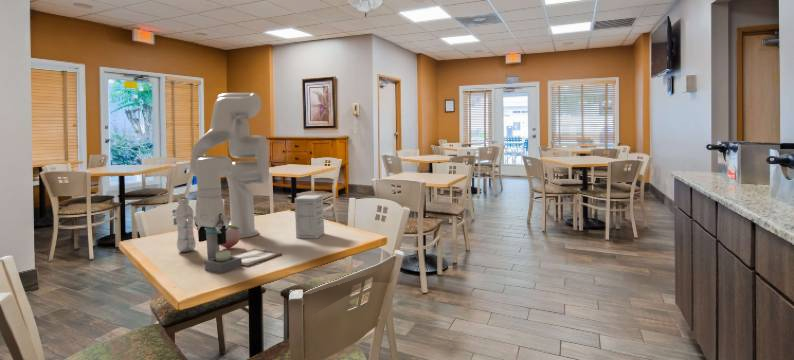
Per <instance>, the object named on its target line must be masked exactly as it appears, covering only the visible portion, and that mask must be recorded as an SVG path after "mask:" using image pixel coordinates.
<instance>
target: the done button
mask: <svg viewBox="0 0 794 360" xmlns="http://www.w3.org/2000/svg"><path fill="white" fill-rule="evenodd" d="M230 256H231V251H230V250H228V249H226V250H220V251H218V252H216V261H218V262H223V261H228V260H230Z"/></svg>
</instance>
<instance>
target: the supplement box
mask: <svg viewBox="0 0 794 360" xmlns="http://www.w3.org/2000/svg"><path fill="white" fill-rule="evenodd" d="M323 196H324V195H322V194H317V195H316V194H313V195H312V194H311V195H309V194H308V195H307V194H303V195H300V196H298V197H295V198H294V218H295V234H296V235H295V236H296V239H318V238H320V237H322V236H323V235H324V234H325V220H324V219H325V218H324V199H323V198H324V197H323Z"/></svg>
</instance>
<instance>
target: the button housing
mask: <svg viewBox="0 0 794 360" xmlns="http://www.w3.org/2000/svg"><path fill="white" fill-rule="evenodd" d="M240 268H243V266H242V260H241V258H238V257H233V255H230V260H228V261H223V262H218V261H216V258H213V259H210V260H208V259H207V260H205V261H204V269H205V271H207V270H208V271H207V272H211V271H212V273H216V272H217V274H220V275H221V274H222V275H223V274H225V273H228V272H231V271H234V270H237V269H240Z"/></svg>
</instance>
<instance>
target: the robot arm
mask: <svg viewBox="0 0 794 360" xmlns="http://www.w3.org/2000/svg"><path fill="white" fill-rule="evenodd" d="M261 108H262V100H261V97H260V95H259V94H258V93H256V92H225V93H220V94H218V95H217V97H216V100H215V101H214V103H213V110H212V115H211V121H210V125H209V130H208V131H207V132H206V133H204V134H203V135H202V136H201V137H200V138H199V139H198V140H197V141H196V142H195V144H194V145H193V148H192V151H191V157H190V162H189V170H190V172H191V174H192V176H194V177H195V178H196V184H197V185H196V186H197V198H196V201H195V215H193V221H194V225H195V227H196V230H197V237H198V242H199V243H201V242H202V243H203V242H207V239H206V227H209V228H214V227H215V228H216V229H217V231H218V233H217V244H218V245H219V246H221V244H225V243H226V232H227V229H228V226H229V225H236V226H238V227H239V228H240V229H238V230H239V232H240V239H246V238H251V237H256V236H258V235H259V230H258V229H256V228H255V227H256V225H255V209H254V208H255V207H254V194H253V191H252V190H251V188H250V187H249V186H248V185H250V184H253V185H257V184H260V185H261V184H265V183H267V182H268V180H269V177H270V161H269V159H270V158H269V144H268V141H267V138H266V137H265V136H264V135H257V134H256V135H255V134H252V135H250V123H249V122H248V119H249V120H250V119H252V118H254V117H256V115H258V114H259V112H260V111H261ZM225 142H228V143H227V144H228V152H229V155H230V156H231V158H234V159H256V161H255V160H253V161H249V160H245V161H243V160H242V161H241V160H240V161H239V160H238V161H237V160H236V161H233V160H232V159H231V158H230V157H229V156H226V155H205V154H206V153H207V152H208V151H209V150H210V149H212V148H215V147H216V146H218V145H220V144H223V143H225ZM223 177H226V181H227V185H228V194H229V195H228V196H229V213H230V214H229V215H230V219H228V218H227V217H226V214H225V206H224V201H223V197H222V181H221V178H223ZM220 227H221V229H220Z"/></svg>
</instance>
